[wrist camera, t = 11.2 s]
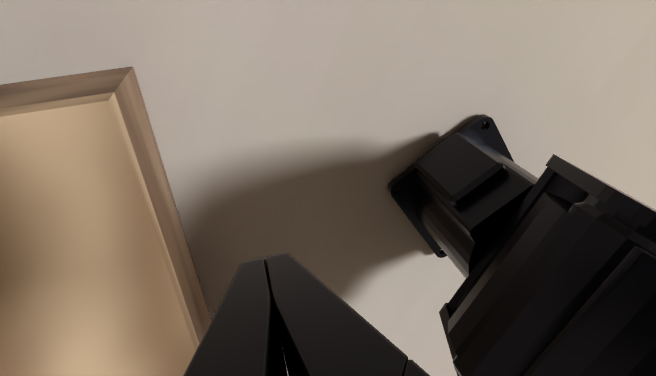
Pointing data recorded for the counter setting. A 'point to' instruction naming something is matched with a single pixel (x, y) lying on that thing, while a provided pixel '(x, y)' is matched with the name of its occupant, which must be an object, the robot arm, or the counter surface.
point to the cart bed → (90, 235)
